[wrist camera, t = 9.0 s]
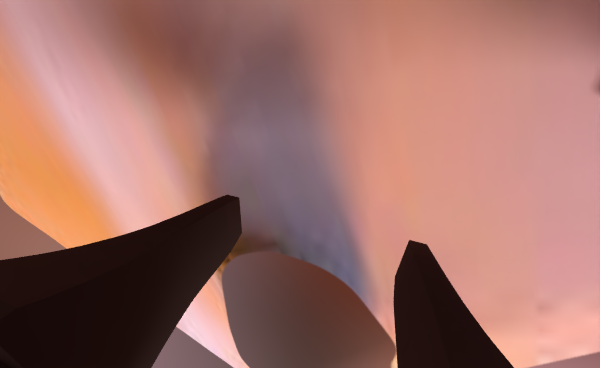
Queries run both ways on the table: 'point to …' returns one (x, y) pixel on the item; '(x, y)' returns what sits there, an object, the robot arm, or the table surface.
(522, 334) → the table surface
